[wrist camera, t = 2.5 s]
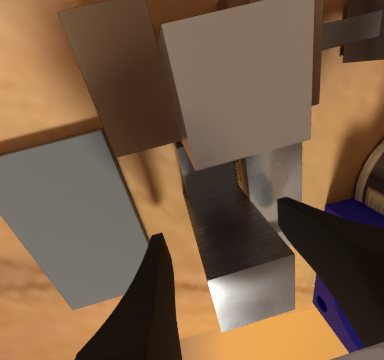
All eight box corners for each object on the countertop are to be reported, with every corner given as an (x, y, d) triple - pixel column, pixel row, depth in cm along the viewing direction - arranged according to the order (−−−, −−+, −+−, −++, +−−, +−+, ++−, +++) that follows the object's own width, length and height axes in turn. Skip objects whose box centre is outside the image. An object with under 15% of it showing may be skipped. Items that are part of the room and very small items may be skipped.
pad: (75, 302, 17) (72, 310, 16) (-28, 161, 11) (-37, 166, 11) (163, 276, 17) (163, 282, 17) (103, 128, 12) (100, 130, 11)
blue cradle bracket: (352, 291, 23) (415, 357, 17) (312, 302, 22) (364, 373, 17) (377, 192, 17) (478, 242, 12) (325, 205, 17) (406, 263, 12)
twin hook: (205, 248, 17) (237, 350, 10) (155, 55, 11) (160, 24, 5) (290, 223, 17) (370, 306, 11) (286, 24, 11) (456, -45, 5)
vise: (125, 137, 12) (115, 157, 9) (86, 33, 10) (56, 11, 7) (349, 78, 13) (414, 78, 10) (360, -30, 11) (449, -76, 8)
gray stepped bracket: (194, 233, 16) (221, 332, 10) (166, 135, 13) (182, 190, 6) (239, 220, 16) (295, 309, 10) (224, 120, 13) (294, 159, 7)
